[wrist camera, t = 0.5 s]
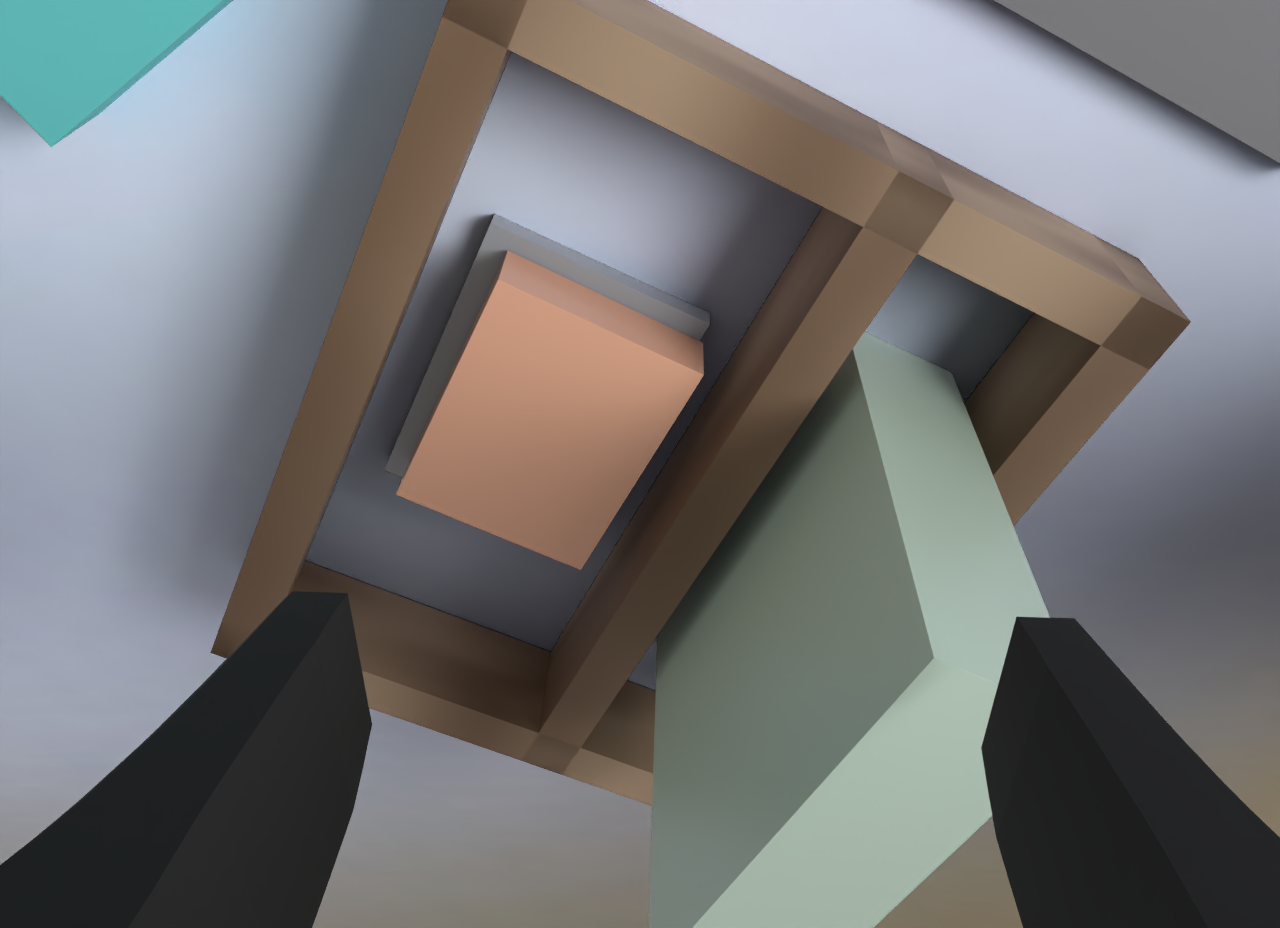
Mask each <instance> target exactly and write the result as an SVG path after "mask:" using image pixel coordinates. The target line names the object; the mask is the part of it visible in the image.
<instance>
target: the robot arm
mask: <svg viewBox="0 0 1280 928" xmlns="http://www.w3.org/2000/svg"><path fill="white" fill-rule="evenodd" d="M371 726H372V722H371V717H370V711H369V706H368V701H367V695H366V690H365V684H364V679H363V673H362V668H361V662H360V657H359V652H358V646H357V641H356V635H355V630H354V624H353V619H352V613H351V608H350V603H349V597H348V593H329V592H301V591H292V592H291V593H290V594H289V595H288V596H287V597H286V598H284V599H283V600H282V602H281V603H280V604H279V605H278V606H277V607H276V608H275V609H274V610H273V611H272V612H271V613H270V614H269V615H268V616H267V617H266V618H265V619H264V620H263V621H262V622H261V623H260V624H259V625H258V627H257V628H256V629H255V630H254V631H253V632H252V633H251V634H250V635H249V636H248V637H247V638H246V639H245V640H244V641H243V642H242V643H241V644H240V646H239V647H238V648H237V649H236V650H235V651H234V652H233V653H232V654H231V655H230V656H229V657H228V658H227V659H226V660H225V661H224V662H223V663H222V664H221V665H220V666H219V667H218V668H217V670H216V671H215V672H214V673H213V674H212V675H211V676H210V677H209V678H208V679H207V680H206V681H205V682H204V683H203V684H202V685H201V686H200V687H199V688H198V689H197V690H196V691H195V692H194V693H193V694H192V695H191V696H190V697H189V698H188V699H187V700H186V701H185V702H184V703H183V704H182V705H181V706H180V707H179V708H178V709H177V710H176V711H175V712H174V713H173V714H172V715H171V716H170V717H169V718H168V719H167V720H166V721H165V722H164V723H163V724H162V725H161V726H160V727H159V728H158V729H157V730H156V731H155V732H154V733H153V734H151V735H150V736H149V737H148V738H147V739H146V740H145V741H144V742H143V743H142V744H141V745H140V746H139V747H138V748H137V749H136V750H134V751H133V752H132V753H131V754H130V755H129V756H128V757H127V758H126V759H125V760H123V761H122V762H121V763H120V764H119V765H118V766H117V767H116V768H115V769H114V770H112V771H111V772H110V773H109V774H108V775H107V776H106V777H105V778H104V779H103V780H101V781H100V782H99V783H98V784H97V785H96V786H95V787H94V788H93V789H92V790H90V791H89V792H88V793H87V794H86V795H85V796H84V797H83V798H82V799H80V800H79V801H78V802H77V803H76V804H75V805H74V806H72V807H71V808H70V809H69V810H68V811H66V812H65V813H64V814H63V815H62V816H61V817H59V818H58V819H57V820H56V821H55V822H53V823H52V824H51V825H50V826H49V827H47V828H46V829H45V830H44V831H43V832H41V833H40V834H39V835H38V836H36V837H35V838H34V839H33V840H32V841H30V842H29V843H28V844H27V845H25V846H24V847H23V848H21V849H20V850H19V851H18V852H16V853H15V854H14V855H13V856H11V857H10V858H9V859H7V860H6V861H5V862H4V863H2V864H1V865H0V928H312V926H313V923H314V920H315V918H316V915H317V912H318V909H319V906H320V904H321V901H322V898H323V895H324V892H325V890H326V887H327V884H328V881H329V878H330V876H331V873H332V870H333V867H334V864H335V861H336V858H337V855H338V853H339V850H340V847H341V844H342V841H343V838H344V835H345V833H346V830H347V827H348V824H349V821H350V818H351V815H352V812H353V808H354V804H355V800H356V795H357V791H358V787H359V782H360V778H361V774H362V769H363V764H364V760H365V755H366V750H367V745H368V741H369V736H370V731H371ZM981 750H982V757H983V763H984V769H985V775H986V782H987V788H988V794H989V800H990V805H991V811H992V816H993V822H994V827H995V832H996V838H997V841H998V844H999V848H1000V851H1001V855H1002V858H1003V862H1004V865H1005V868H1006V872H1007V875H1008V878H1009V882H1010V885H1011V888H1012V892H1013V895H1014V898H1015V902H1016V905H1017V908H1018V912H1019V915H1020V918H1021V921H1022V925H1023V928H1280V837H1279V836H1278V835H1276V834H1275V833H1274V832H1273V831H1272V830H1271V829H1270V828H1269V827H1268V826H1267V825H1266V824H1265V823H1264V822H1263V821H1262V820H1261V819H1260V818H1259V817H1258V816H1257V815H1256V814H1254V813H1253V812H1252V811H1251V810H1250V809H1249V808H1248V807H1247V806H1246V805H1245V804H1244V803H1243V802H1242V801H1241V800H1240V799H1239V798H1238V797H1237V796H1236V795H1235V794H1234V793H1233V792H1232V791H1231V790H1230V789H1229V788H1228V787H1227V786H1226V785H1225V784H1224V783H1223V782H1222V780H1221V779H1220V778H1219V777H1218V776H1217V775H1216V774H1215V773H1214V772H1213V771H1212V770H1211V769H1210V768H1209V767H1208V766H1207V765H1206V764H1205V763H1204V762H1203V760H1202V759H1201V758H1200V757H1199V756H1198V755H1197V754H1196V753H1195V752H1194V751H1193V750H1192V749H1191V748H1190V747H1189V746H1188V745H1187V744H1186V743H1185V742H1184V740H1183V739H1182V738H1181V737H1180V736H1179V735H1178V734H1177V733H1176V732H1175V731H1174V730H1173V728H1172V727H1171V726H1170V725H1169V724H1168V723H1167V722H1166V721H1165V720H1164V719H1163V718H1162V716H1161V715H1160V714H1159V713H1158V712H1157V711H1156V710H1155V709H1154V707H1153V706H1152V705H1151V704H1150V703H1149V702H1148V701H1147V700H1146V699H1145V697H1144V696H1143V695H1142V694H1141V693H1140V692H1139V691H1138V690H1137V689H1136V687H1135V686H1134V685H1133V684H1132V683H1131V682H1130V681H1129V679H1128V678H1127V677H1126V676H1125V675H1124V674H1123V673H1122V672H1121V670H1120V669H1119V668H1118V667H1117V666H1116V665H1115V664H1114V662H1113V661H1112V660H1111V659H1110V658H1109V657H1108V656H1107V655H1106V653H1105V652H1104V651H1103V650H1102V649H1101V648H1100V647H1099V646H1098V644H1097V643H1096V642H1095V641H1094V640H1093V639H1092V638H1091V637H1090V635H1089V634H1088V633H1087V632H1086V631H1085V630H1084V629H1083V628H1082V626H1081V625H1080V624H1079V623H1078V622H1077V621H1076V620H1075V619H1072V618H1043V617H1016V620H1015V624H1014V628H1013V631H1012V635H1011V639H1010V643H1009V646H1008V650H1007V654H1006V657H1005V661H1004V665H1003V669H1002V672H1001V676H1000V680H999V683H998V687H997V691H996V695H995V698H994V702H993V706H992V709H991V713H990V717H989V720H988V724H987V728H986V732H985V735H984V739H983V743H982V746H981Z"/></svg>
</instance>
